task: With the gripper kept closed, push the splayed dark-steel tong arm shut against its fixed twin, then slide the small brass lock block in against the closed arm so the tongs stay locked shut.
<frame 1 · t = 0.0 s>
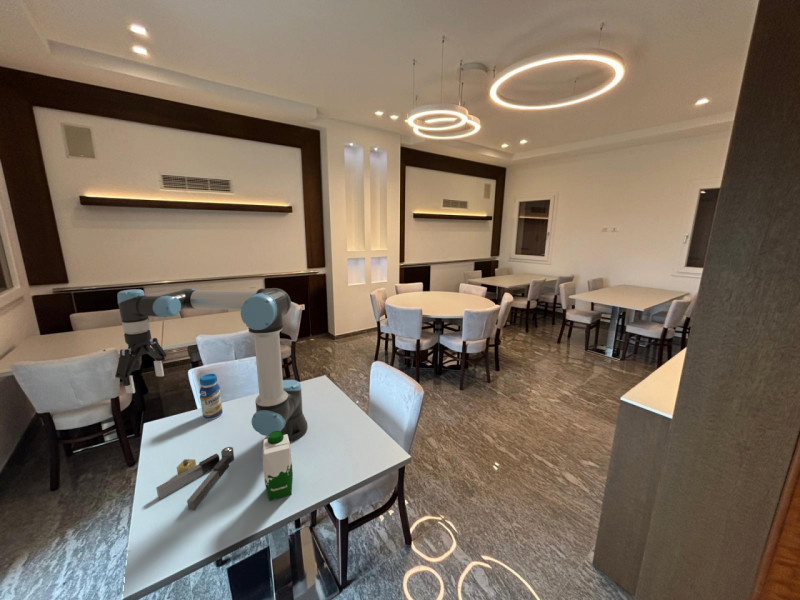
hand: (146, 383, 120), 28 cm above the table, fingers open, 13 cm apart
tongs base: (228, 460, 119), on the table
tong arm: (190, 474, 109), point 2 cm above the table, hinge at 32.0°
milk carton: (279, 490, 106), on the table
lock block: (186, 467, 112), point 3 cm above the table, slide at 0.0 cm
beverage bottle: (213, 415, 149), on the table
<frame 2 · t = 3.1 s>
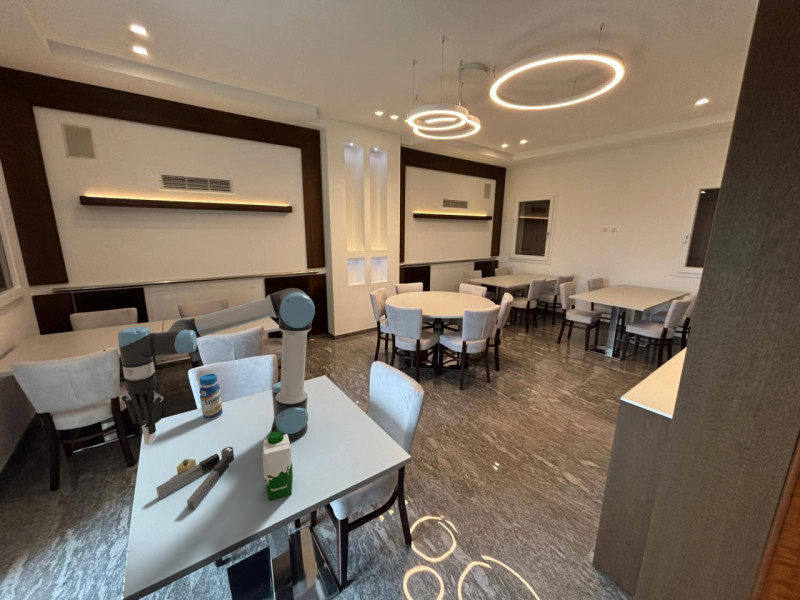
hand: (150, 441, 103), 17 cm above the table, fingers closed
nothing on the table moved.
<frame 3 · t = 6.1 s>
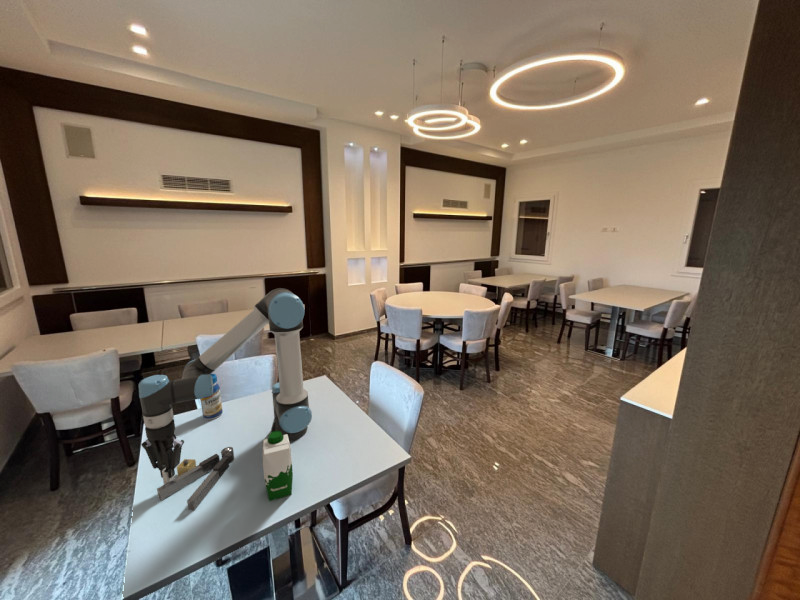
hand: (169, 484, 106), 1 cm above the table, fingers closed
tong arm: (190, 475, 109), point 2 cm above the table, hinge at 29.9°, touching gripper
everything else where it was.
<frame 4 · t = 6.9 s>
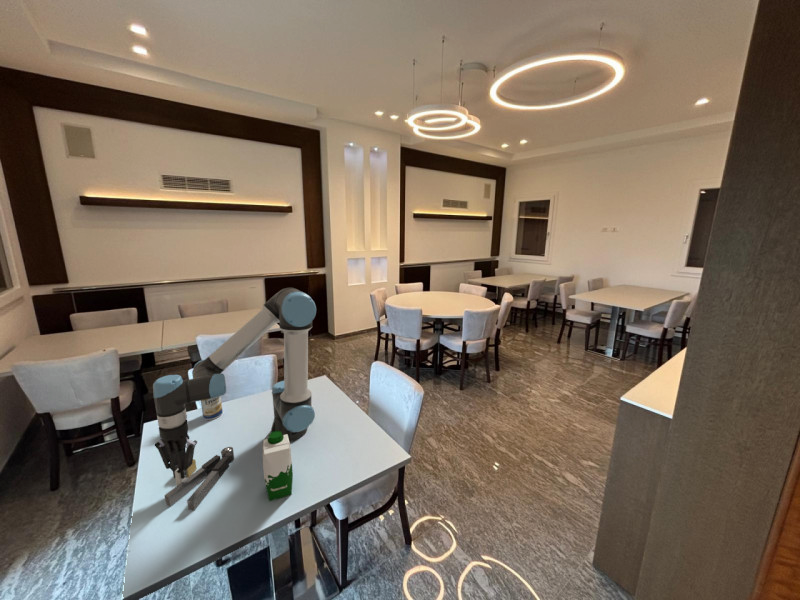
hand: (181, 485, 105), 2 cm above the table, fingers closed
tong arm: (195, 478, 108), point 2 cm above the table, hinge at 16.7°, touching gripper
everything else where it was.
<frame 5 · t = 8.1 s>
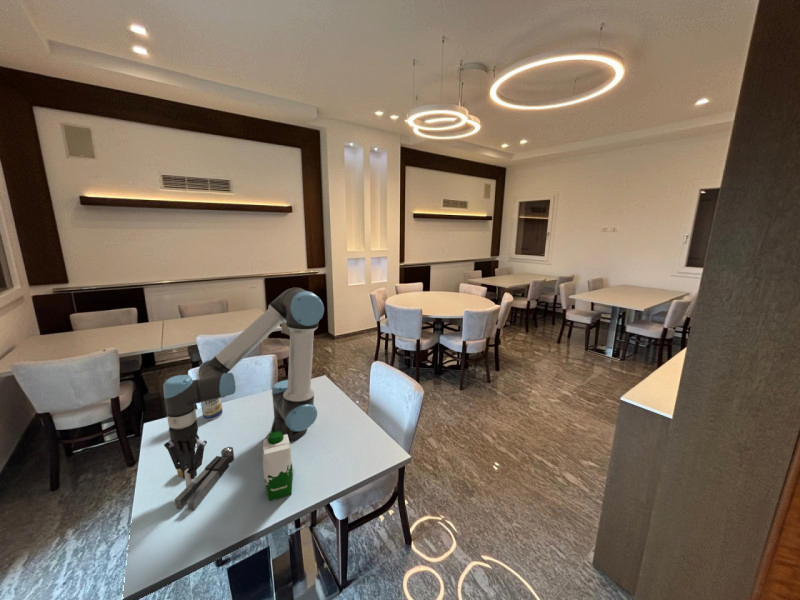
hand: (191, 485, 105), 2 cm above the table, fingers closed
tong arm: (200, 480, 107), point 2 cm above the table, hinge at 5.1°, touching gripper
everything else where it was.
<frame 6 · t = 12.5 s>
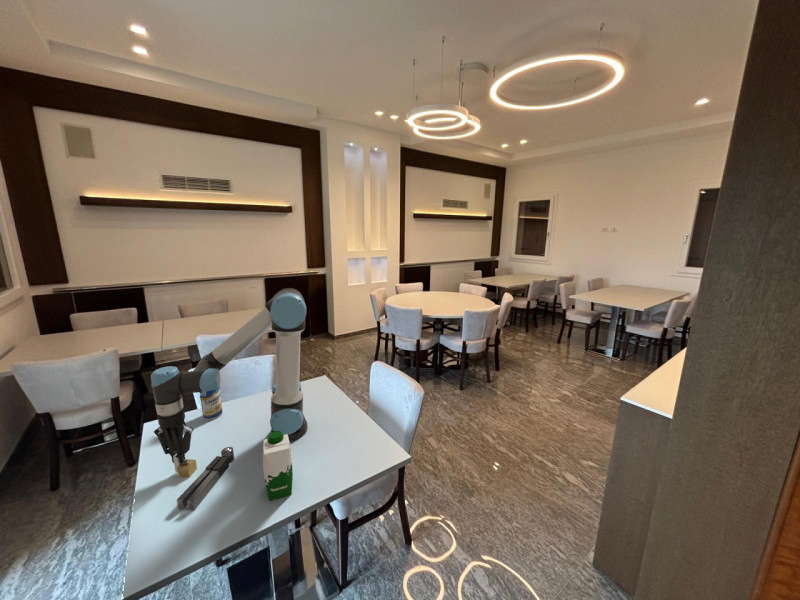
hand: (180, 469, 113), 1 cm above the table, fingers closed
tong arm: (201, 480, 107), point 2 cm above the table, hinge at 3.2°
lock block: (187, 467, 112), point 3 cm above the table, slide at 0.2 cm, touching gripper
everything else where it was.
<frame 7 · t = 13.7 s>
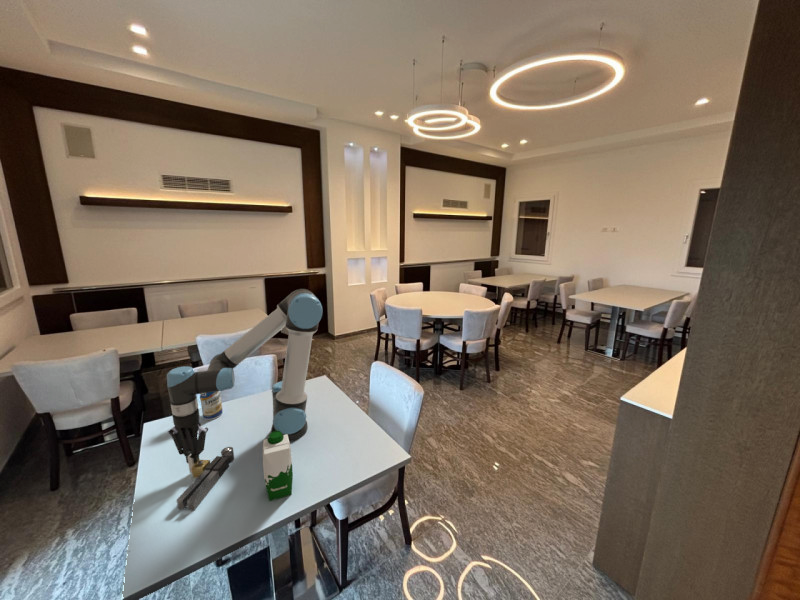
hand: (194, 470, 112), 1 cm above the table, fingers closed
lock block: (201, 467, 112), point 3 cm above the table, slide at 5.4 cm, touching gripper
everything else where it was.
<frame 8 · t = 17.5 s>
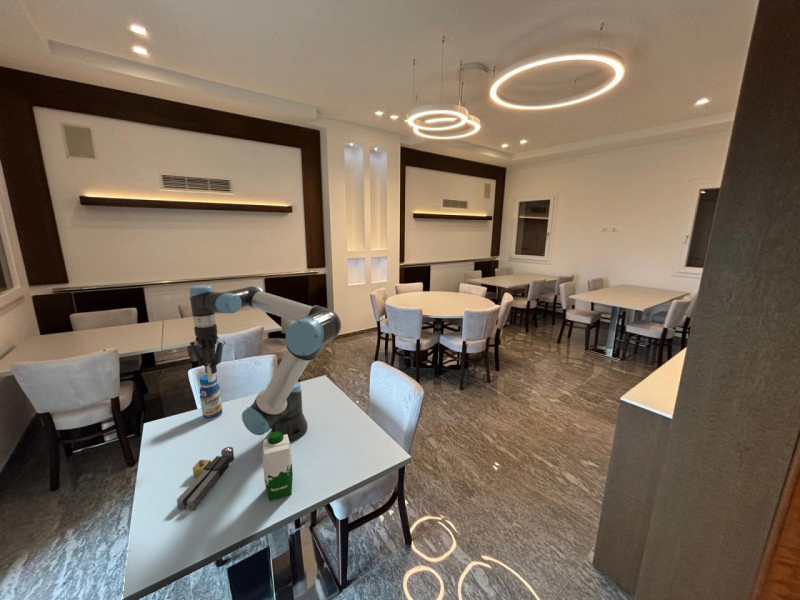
hand: (212, 380, 127), 26 cm above the table, fingers closed
lock block: (202, 467, 112), point 3 cm above the table, slide at 5.8 cm
everything else where it was.
at the end: tong arm at +3° (first picture: +32°); lock block slide at 5.8 cm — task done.
